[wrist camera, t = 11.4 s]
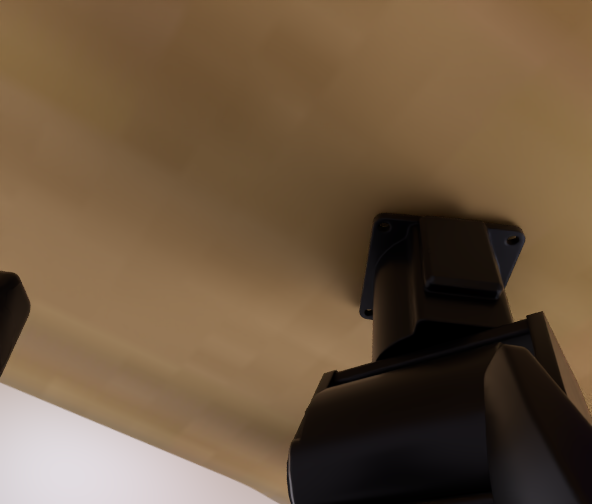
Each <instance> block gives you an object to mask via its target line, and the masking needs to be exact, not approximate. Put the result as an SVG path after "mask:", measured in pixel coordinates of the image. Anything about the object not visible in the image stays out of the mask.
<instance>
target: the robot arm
mask: <svg viewBox="0 0 592 504" xmlns="http://www.w3.org/2000/svg"><path fill="white" fill-rule="evenodd" d="M382 223H388V224H389V225H388V226H386V227H383V226H381V225H380V224H382ZM511 236H516V237H515V238H514V239H508V238H509V237H511ZM524 242H525V236H524V233H523V231H522V229H521V228H520V227H517V226H512V225H502V224H492V223H483V222H482V221H474V220H464V219H454V218H444V217H434V216H424V217H422V216H412V215H402V214H392V213H381V214H379V215H377V216H376V217H375V218H374V221H373V226H372V232H371V239H370V245H369V251H368V257H367V263H366V270H365V276H364V282H363V288H362V295H361V301H360V310H359V312H360V315H361V316H362V317H363V318H365V319H371V320H373V346H372V363H368V364H365V365H361V366H358V367H354V368H351V369H347V370H343V371H340V372H338V371H337V370H334V371H331V372H327V373H324V374H323V376H322V379H321V381H320V383H319V385H318V387H317V389H316V392H315V394H314V396H313V398H312V400H311V402H310V404H309V406H308V408H307V409H306V411H305V415H304V417H303V420H302V422H301V424H300V426H299V428H298V430H297V433H296V435H295V437H294V439H293V441H292V442H291V445H290V448H289V454H288V461H287V485H288V494H289V498H290V502H291V504H592V417H591V414H590V412H589V409H588V407H587V404H586V402H585V399H584V397H583V394H582V391H581V389H580V387H579V384H578V382H577V380H576V378H575V376H574V374H573V372H572V370H571V368H570V366H569V364H568V362H567V360H566V358H565V356H564V354H563V352H562V350H561V348H560V346H559V343H558V341H557V339H556V337H555V335H554V333H553V331H552V329H551V327H550V325H549V323H548V321H547V319H546V317H545V315H544V313H543V311H541V312H538V313H534V314H531V315H527V316H526V317H527V319H524V320H520V321H517V322H514V321H513V318H512V314H511V311H510V307H509V304H508V300H507V297H506V293H505V287H506V284H507V282H508V280H509V277H510V275H511V273H512V270H513V268H514V266H515V263H516V261H517V259H518V256H519V254H520V252H521V249H522V247H523V245H524ZM367 309H371V310H367ZM29 313H30V301H29V298H28V296H27V294H26V291H25V289H24V287H23V284H22V282H21V280H20V278H19V276H18V275H17V274H15V273H12V272H5V271H0V377H1V375H2V373H3V370H4V368H5V366H6V364H7V362H8V360H9V357H10V355H11V353H12V351H13V349H14V346H15V344H16V342H17V340H18V338H19V336H20V333H21V331H22V329H23V327H24V325H25V322H26V320H27V318H28V316H29Z"/></svg>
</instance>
